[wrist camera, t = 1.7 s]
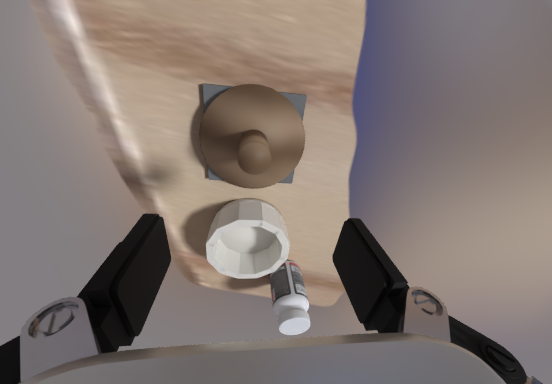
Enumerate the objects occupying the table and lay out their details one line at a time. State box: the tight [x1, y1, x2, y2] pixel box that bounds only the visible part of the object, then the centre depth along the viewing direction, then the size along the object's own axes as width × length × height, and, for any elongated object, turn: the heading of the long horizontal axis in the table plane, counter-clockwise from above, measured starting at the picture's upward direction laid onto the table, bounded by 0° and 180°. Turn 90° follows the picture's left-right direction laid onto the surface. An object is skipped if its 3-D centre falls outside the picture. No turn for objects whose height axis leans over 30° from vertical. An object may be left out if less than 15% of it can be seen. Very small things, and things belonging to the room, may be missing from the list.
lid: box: [200, 84, 305, 189], centre depth 22 cm, size 12×12×6 cm
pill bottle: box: [270, 260, 310, 335], centre depth 34 cm, size 6×6×10 cm
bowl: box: [206, 198, 290, 279], centre depth 30 cm, size 11×11×5 cm
